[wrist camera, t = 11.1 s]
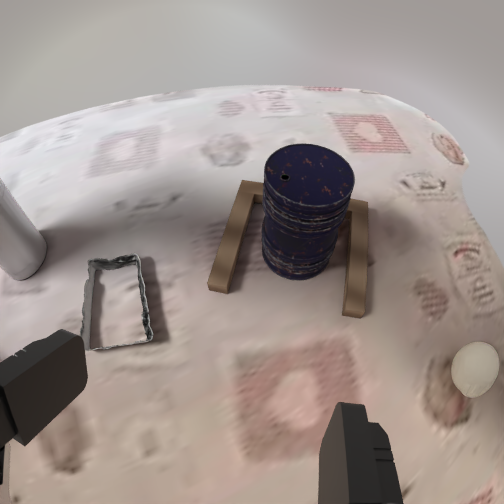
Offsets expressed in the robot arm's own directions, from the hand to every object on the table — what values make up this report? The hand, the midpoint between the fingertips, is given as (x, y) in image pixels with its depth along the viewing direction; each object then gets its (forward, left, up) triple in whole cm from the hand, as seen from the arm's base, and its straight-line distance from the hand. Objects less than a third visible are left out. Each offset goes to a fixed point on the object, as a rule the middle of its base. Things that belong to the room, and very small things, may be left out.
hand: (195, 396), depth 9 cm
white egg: (+13, +27, -29) cm, 41 cm away
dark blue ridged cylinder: (-16, +19, -29) cm, 38 cm away
